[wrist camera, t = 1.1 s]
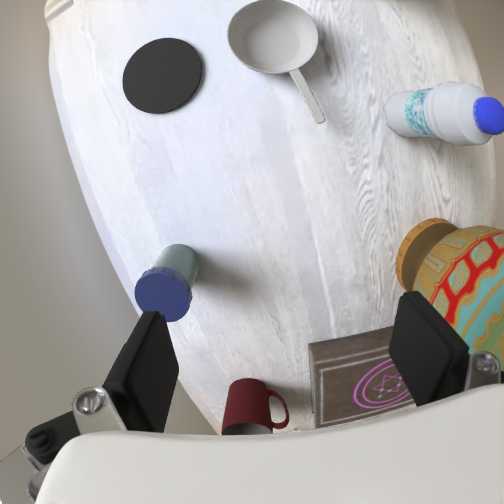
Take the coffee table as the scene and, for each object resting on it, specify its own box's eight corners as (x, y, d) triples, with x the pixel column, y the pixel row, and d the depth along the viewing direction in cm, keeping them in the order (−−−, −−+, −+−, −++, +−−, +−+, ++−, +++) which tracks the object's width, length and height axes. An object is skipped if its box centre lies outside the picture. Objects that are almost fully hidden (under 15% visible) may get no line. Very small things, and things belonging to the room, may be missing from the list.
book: (312, 411, 56) (315, 429, 51) (307, 341, 47) (312, 361, 43) (432, 379, 54) (440, 393, 49) (454, 306, 45) (466, 320, 40)
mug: (280, 368, 50) (285, 416, 40) (289, 395, 53) (294, 439, 43) (219, 379, 51) (214, 425, 41) (233, 404, 55) (230, 447, 44)
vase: (382, 322, 46) (454, 466, 18) (370, 216, 38) (516, 358, 11) (467, 287, 43) (558, 389, 16) (469, 188, 36) (611, 264, 8)
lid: (133, 267, 33) (128, 273, 31) (187, 265, 33) (184, 272, 31) (145, 314, 35) (141, 321, 34) (196, 314, 35) (193, 322, 34)
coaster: (124, 48, 29) (122, 47, 28) (200, 33, 29) (200, 31, 28) (125, 119, 33) (123, 119, 33) (203, 107, 33) (203, 107, 32)
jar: (157, 245, 40) (134, 275, 32) (197, 243, 40) (182, 273, 32) (164, 281, 43) (145, 316, 34) (202, 280, 43) (190, 317, 34)
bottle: (414, 143, 34) (516, 164, 16) (375, 130, 34) (471, 139, 15) (420, 101, 31) (522, 97, 13) (381, 86, 31) (476, 63, 13)
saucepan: (289, 0, 26) (292, -12, 23) (350, 109, 33) (360, 107, 29) (215, 27, 28) (211, 17, 25) (277, 140, 35) (280, 140, 31)
